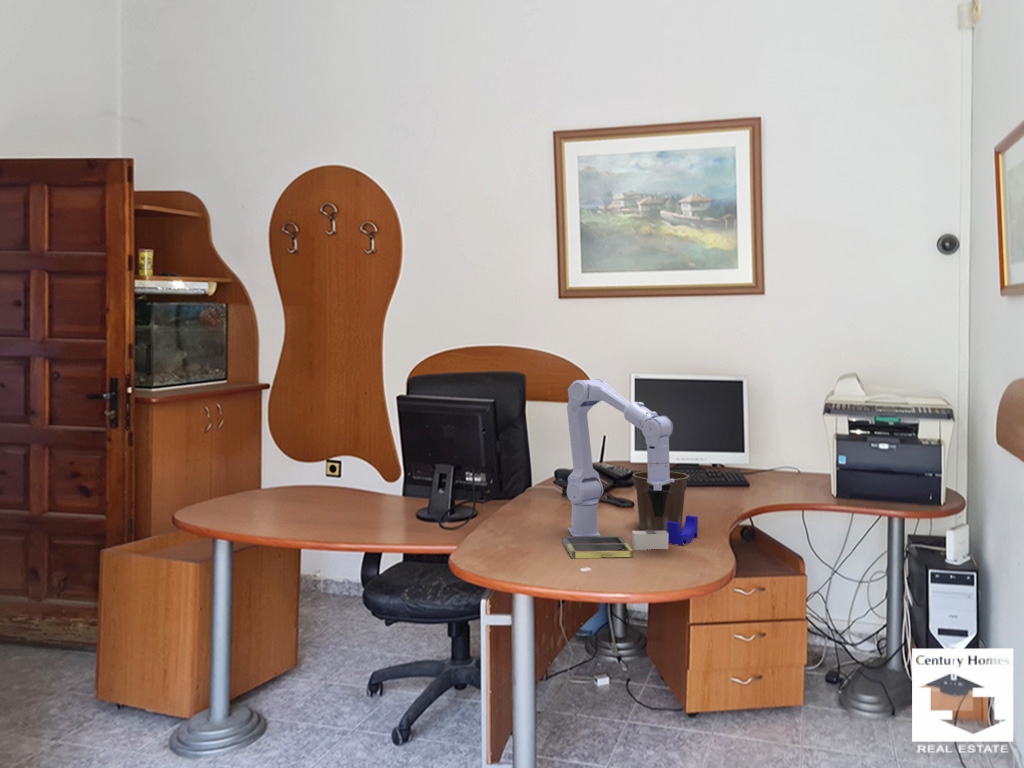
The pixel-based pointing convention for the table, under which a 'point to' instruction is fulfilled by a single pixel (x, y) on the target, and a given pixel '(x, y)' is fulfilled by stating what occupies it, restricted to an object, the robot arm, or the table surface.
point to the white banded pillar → (649, 540)
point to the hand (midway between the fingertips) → (659, 514)
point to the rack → (597, 547)
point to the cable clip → (683, 531)
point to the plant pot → (673, 502)
